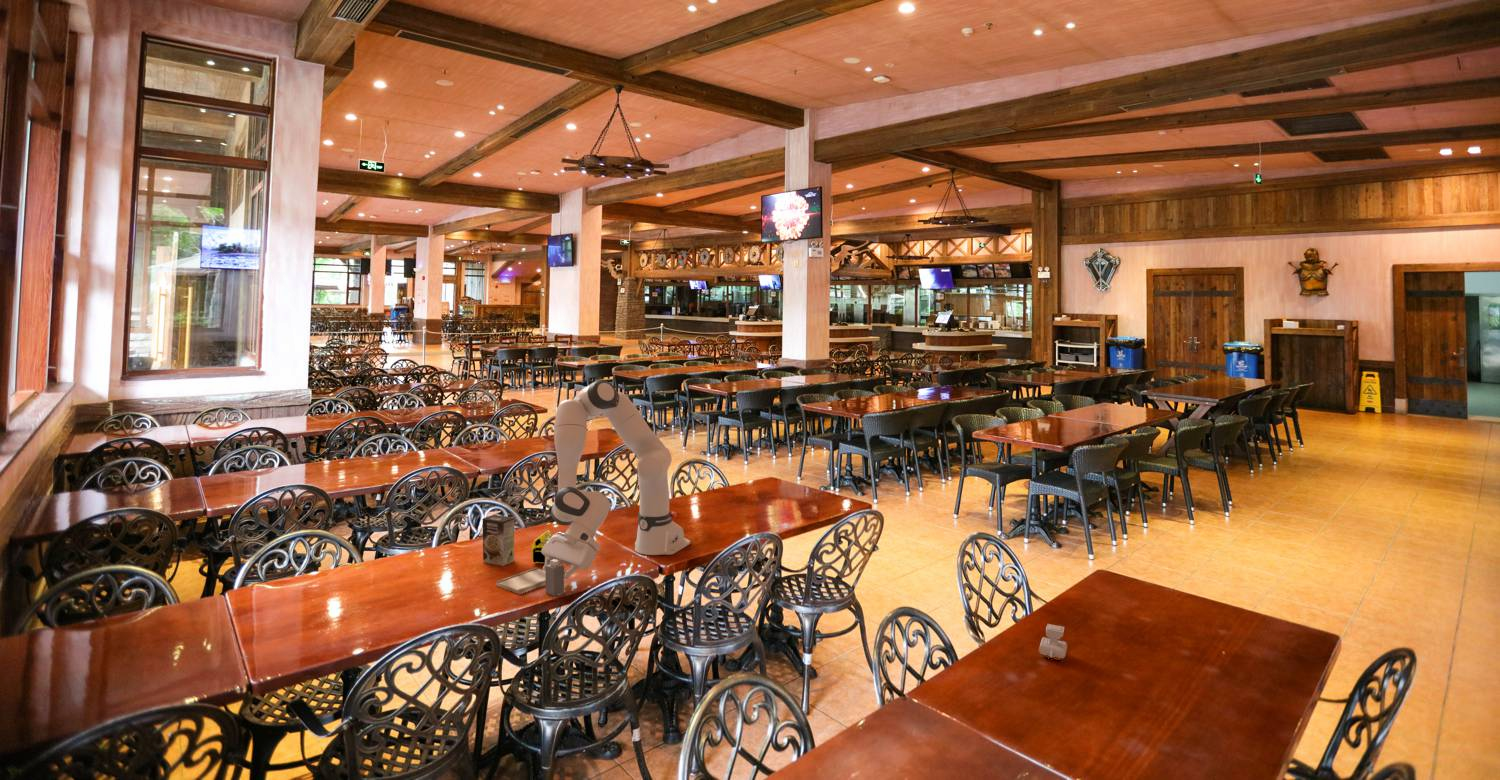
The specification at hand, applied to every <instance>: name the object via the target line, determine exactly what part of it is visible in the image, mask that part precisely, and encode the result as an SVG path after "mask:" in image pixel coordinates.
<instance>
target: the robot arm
mask: <svg viewBox="0 0 1500 780" xmlns="http://www.w3.org/2000/svg"><path fill="white" fill-rule="evenodd" d="M556 409H557V410H556V413H555V417H554V427H553V428H554V429H553V431H554V432H553V439H554V441H553V442H554V446H555V447H554V448H555V453H556V461H557V469H558V470H557V471H558V472H557V473H558V474H557V476H558V477H557V492H556V494H555V496H554V500H553V503H552V506H551V509H550V514H551V518H552V519H553V522H556V523H557V524H558V525H561V526H568V527H567V529H566V530H565V532H562V531H558V532H555V533H554V534H552V535H553V536H552V537H551V538H550V539H549V540H548V541H547V543H546V544H545V545H544V547H543V548H542V550H541V553H542V554H543V555H544V556H545V557H546V558H545V563H544V564H543V567H542V569H541V570H543V571H546V570H545V566H546V565H549V564H550V560H553V559H556V560H559V563H561V564H562V563H563V564H565V565H567V566H569V568H568V569H567V570H566V571H565V570H564V573H563V574H562V577H563V578H564V580H565V579H566V580H568V579H570V576H571V575H573V574H574V573H576V572H577V571H578V569H580V570H583V571H586V570H588V569H590V567H591V566H592V563H594V560H595V559H596V556H597V552H599V551H600V550H601V545H600V544H599V543H598V542H597V540H595V536H596V533H597V530H598V529H600V527H602V525H603V523H604V522H605V520H606V519H607V517H608V514H609V512H610V510H611V502H610V499H609V498H608V497H607V496H606V495H605V494H603V493H602V492H601V491H599V490H593V491H591V490H590V491H588V490H583V489H582V490H581V489H578V488H577V475H578V467H579V464H580V462H581V458H582V456H583V453H584V450H585V446H586V443H587V434H588V431H587V429H588V427H587V426H588V425H587V422H590V421H592V420H593V419H595V418H597V417H599V416H600V415H603V416H605V417H606V418H607V420H608V421H609V422H610V425H611V427H612V428H613V429H614V431H615V432H616V433H617V435H618V437H619V438H620V439H621V441H622V444H624V446H626V447H627V448H628V449H629V450H630V451H631V452H632V453H633V454H634V455H635V456H636V457H637V458H638V460H637V465H636V472H637V481H638V488H639V512H638V515H637V516H638V517H637V521H638V522H637V523H638V526H637V531H636V540H635V541H634V550H635V551H636V552H637V553H638V554H641V555H647V556H660V555H666V556H667V555H668V556H669V555H675V554H676V553H678V552H679V551H680V550H682V549H684V548H685V547H688V546H689V545H690V544H691V540H689V539H688V538H686V537H685V533H684V532H685V531H684V529H683V528H682V526H680V525H679V524H678V523H676V522H675V521H673V518H677V512H676V511H670V490H669V481H668V472H669V468H670V467H671V465H672V460H673V459H672V453H671V451H670V450H669V449H668V447H667V446H666V445H665V444H664V443H663V442H662V441H661V439H660V438H659V437H658V436H657V435H656V433H654V432H653V430H652V429H651V427H650V426H649V425H648V423H647V422H646V420H645V419H644V417H643V416H642V414H641V412H639V410H638V409H637V407H636V406H635V404H634V402H632V400H630V398H629V397H628V396H627V395H626V394H624V393H623V392H621V391H618V390H617V388H616V387H615V386H614V385H613V384H612V383H610V382H609V381H607V380H603V379H601V380H595V381H593V382H592V383H590V384H588V385H587V386H585V387H583V388H582V389H581V390H580V391H579V392H578V393H577V394H576V395H574V396H573V397H572V398H570V399H568V398H567V399H565V400H562V401H561V402H560V403H559V404H558V406H557V408H556ZM672 517H673V518H672Z"/></svg>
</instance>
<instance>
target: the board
mask: <svg viewBox="0 0 1500 780" xmlns="http://www.w3.org/2000/svg"><path fill="white" fill-rule="evenodd" d="M495 583H496V585H495V586H497V587H498V588H501V589H504V590H506V591H509V592H511V591H512V592H511V593H514V594H516V593H517V595H519V594H521V595H524V594H526V593H528V591H529V592H531V590H532V591H534V590H537V589H540V588H542V587H546V571H544V570H542V569H540V568H538V567H533V568H530V569H528V570H525V571H522V572H520V573H517V574H513V575H510V576H507V577H505V578H501V579H499V580H496V582H495ZM536 588H537V589H536ZM533 589H534V590H533ZM525 592H526V593H525ZM523 593H524V594H523Z"/></svg>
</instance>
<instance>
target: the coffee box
mask: <svg viewBox="0 0 1500 780" xmlns="http://www.w3.org/2000/svg"><path fill="white" fill-rule="evenodd" d="M482 559H483V560H482V562H483V563H485V564H491V565H496V566H502V567H504V566H507V565H509V564H511V563H512V562H514V561H515V517H511V516H506V515H499V514H493V515H492V514H491V515H488V516H486V517H484V518H482Z"/></svg>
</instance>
